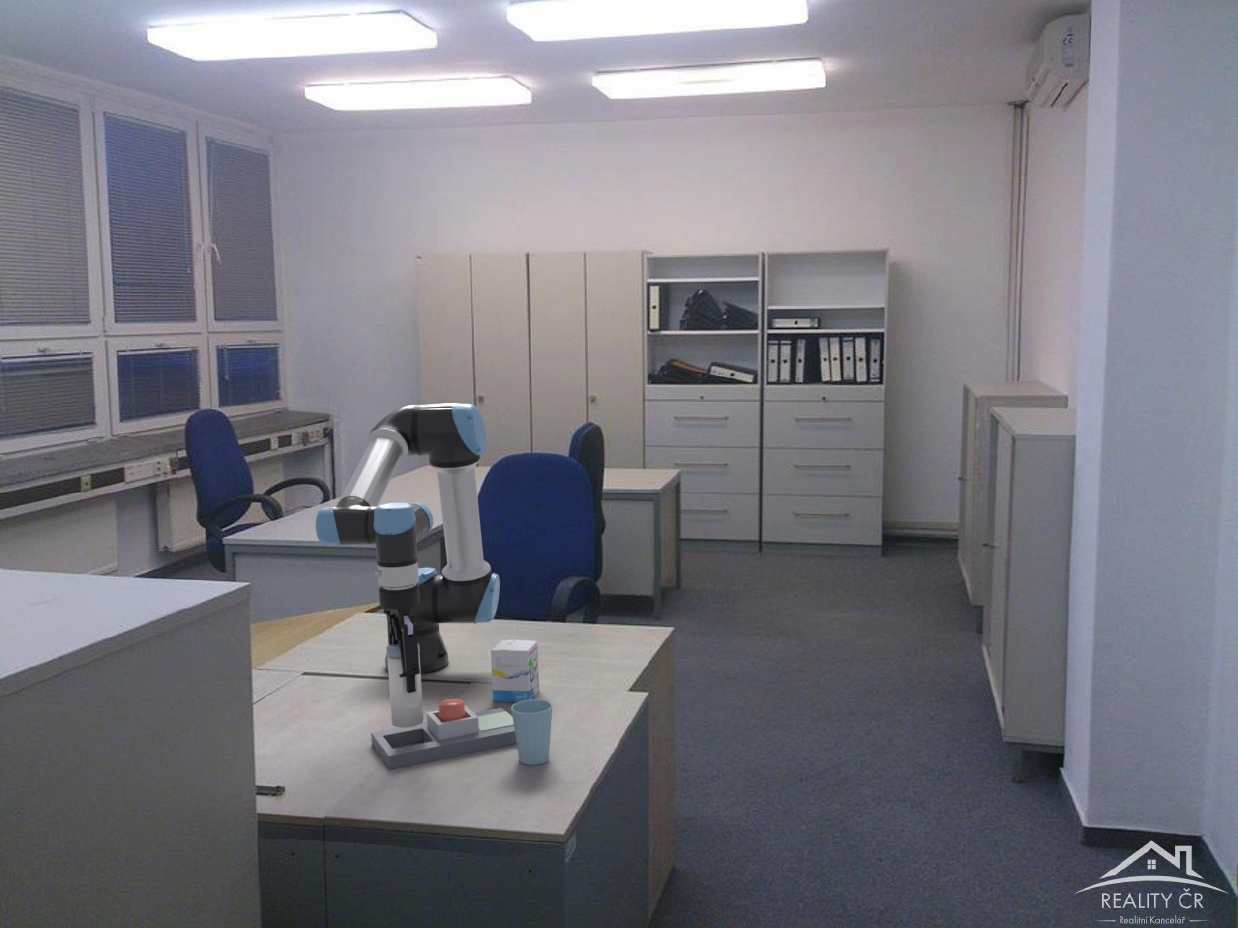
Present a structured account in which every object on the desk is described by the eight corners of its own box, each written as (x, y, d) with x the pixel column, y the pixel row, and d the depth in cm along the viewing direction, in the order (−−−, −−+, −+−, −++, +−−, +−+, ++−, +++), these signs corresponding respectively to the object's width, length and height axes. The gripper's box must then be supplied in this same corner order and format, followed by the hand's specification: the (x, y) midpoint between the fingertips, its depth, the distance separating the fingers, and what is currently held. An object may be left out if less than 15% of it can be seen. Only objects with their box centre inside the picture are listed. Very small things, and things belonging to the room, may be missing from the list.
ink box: (529, 703, 238) (527, 650, 236) (492, 701, 240) (489, 649, 238) (540, 690, 246) (538, 639, 245) (504, 688, 248) (501, 638, 246)
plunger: (436, 725, 217) (435, 701, 217) (461, 721, 220) (459, 697, 219) (444, 733, 213) (442, 708, 212) (469, 729, 215) (467, 704, 214)
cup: (505, 759, 207) (503, 705, 206) (538, 748, 212) (536, 696, 210) (529, 770, 201) (526, 715, 200) (562, 759, 206) (560, 705, 205)
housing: (371, 744, 217) (370, 717, 216) (501, 719, 228) (500, 693, 228) (389, 768, 204) (387, 740, 203) (525, 740, 216) (524, 713, 215)
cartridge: (387, 719, 214) (382, 644, 212) (419, 713, 217) (414, 639, 215) (395, 729, 208) (390, 653, 206) (427, 723, 211) (423, 647, 209)
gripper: (367, 577, 216) (375, 691, 219) (391, 598, 199) (400, 721, 202) (405, 572, 219) (412, 684, 222) (432, 592, 202) (439, 713, 205)
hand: (406, 701), depth 212 cm, fingers closed on cartridge, 6 cm apart
